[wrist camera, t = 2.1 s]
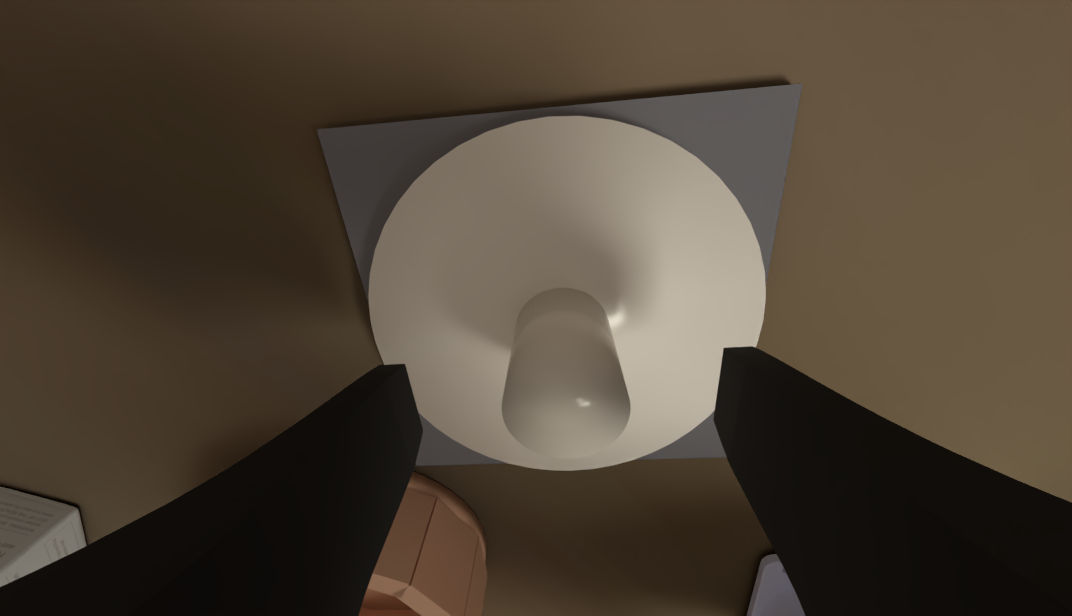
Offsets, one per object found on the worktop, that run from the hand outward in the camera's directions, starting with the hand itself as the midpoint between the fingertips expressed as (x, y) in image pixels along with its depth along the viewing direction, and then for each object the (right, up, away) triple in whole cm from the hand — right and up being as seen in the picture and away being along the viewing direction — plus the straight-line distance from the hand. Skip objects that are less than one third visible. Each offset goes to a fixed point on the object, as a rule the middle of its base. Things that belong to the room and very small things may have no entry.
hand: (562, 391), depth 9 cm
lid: (0, +1, +3) cm, 4 cm away
